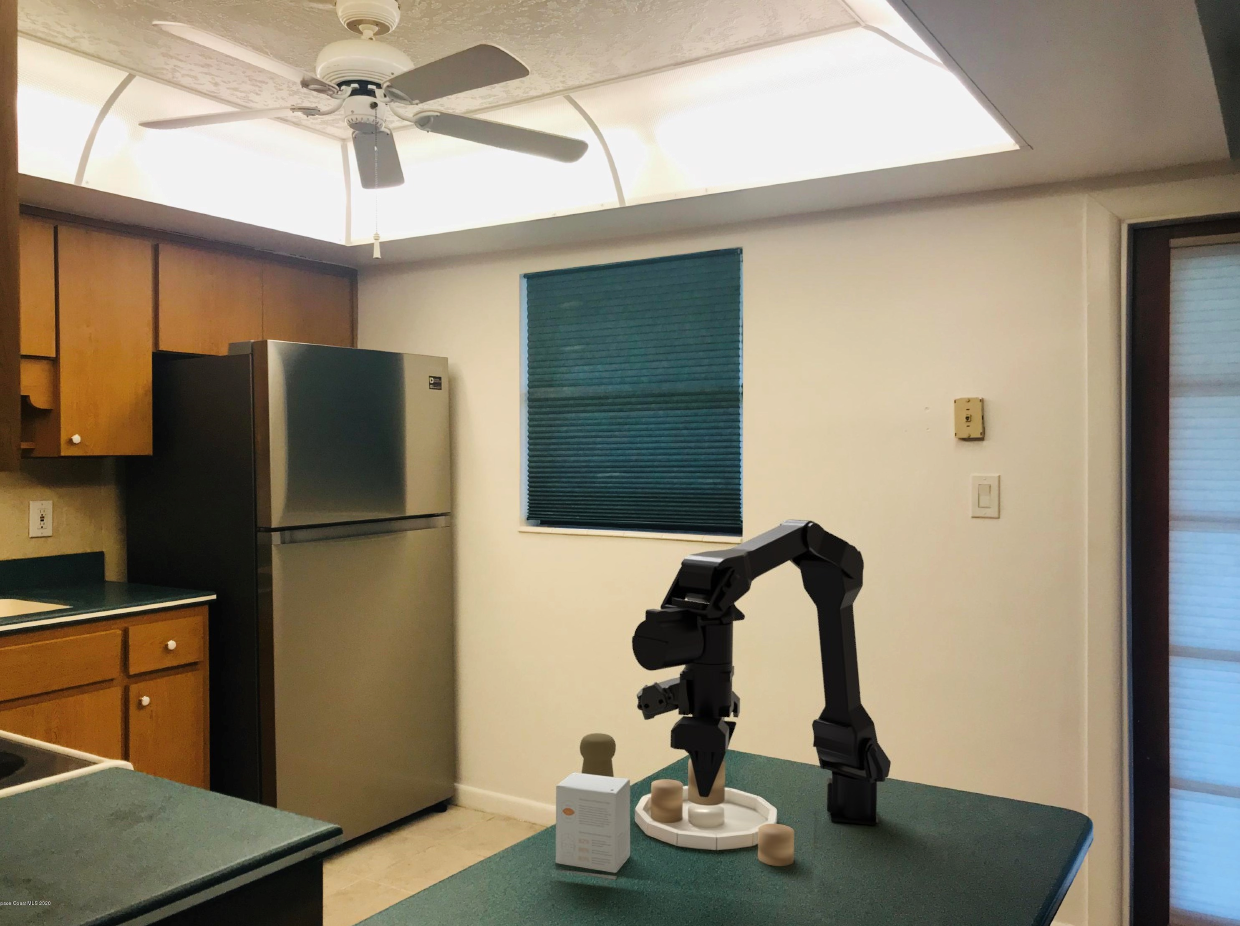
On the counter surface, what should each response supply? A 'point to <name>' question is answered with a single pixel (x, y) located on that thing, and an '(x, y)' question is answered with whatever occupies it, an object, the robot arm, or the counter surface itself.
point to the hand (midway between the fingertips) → (706, 789)
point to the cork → (597, 754)
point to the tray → (712, 838)
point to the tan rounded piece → (716, 792)
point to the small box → (593, 823)
